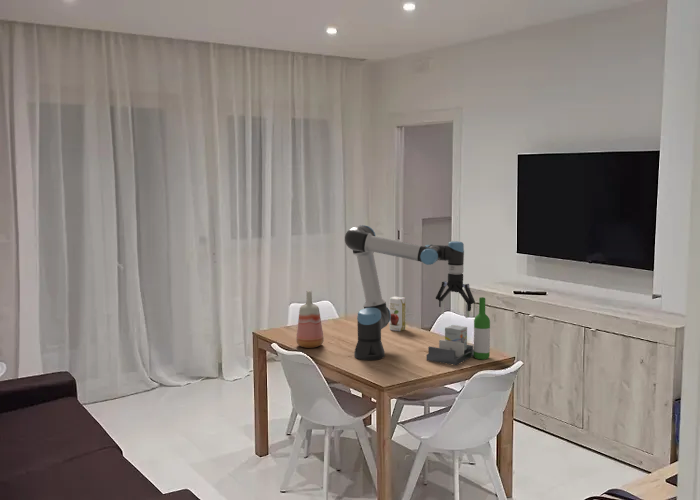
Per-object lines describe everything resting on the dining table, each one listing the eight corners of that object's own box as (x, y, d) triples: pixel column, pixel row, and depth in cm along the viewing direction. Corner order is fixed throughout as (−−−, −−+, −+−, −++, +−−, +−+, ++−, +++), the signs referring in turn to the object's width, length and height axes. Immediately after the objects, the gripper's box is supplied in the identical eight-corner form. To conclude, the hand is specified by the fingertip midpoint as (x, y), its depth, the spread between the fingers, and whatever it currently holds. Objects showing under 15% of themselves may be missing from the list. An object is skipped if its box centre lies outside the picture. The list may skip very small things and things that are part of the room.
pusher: (464, 357, 324) (464, 343, 323) (458, 360, 319) (459, 345, 318) (440, 353, 331) (440, 339, 330) (434, 355, 327) (434, 341, 326)
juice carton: (394, 327, 390) (394, 295, 388) (407, 329, 385) (407, 297, 383) (387, 330, 384) (387, 297, 382) (400, 332, 379) (400, 299, 377)
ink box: (460, 353, 325) (459, 329, 323) (444, 350, 330) (444, 327, 328) (467, 349, 332) (467, 326, 330) (452, 347, 337) (452, 324, 335)
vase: (290, 346, 351) (289, 291, 347) (310, 341, 361) (309, 287, 358) (309, 351, 341) (308, 294, 337) (329, 345, 351) (328, 290, 348)
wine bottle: (472, 355, 330) (473, 296, 326) (488, 355, 330) (489, 296, 326) (474, 360, 322) (475, 299, 318) (490, 360, 322) (491, 299, 318)
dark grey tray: (475, 355, 331) (475, 341, 330) (456, 365, 314) (456, 351, 313) (446, 350, 340) (446, 337, 339) (426, 360, 323) (426, 346, 322)
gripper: (429, 271, 329) (428, 313, 332) (475, 276, 315) (474, 320, 317) (436, 269, 335) (435, 311, 338) (482, 274, 321) (481, 317, 324)
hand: (454, 315), depth 328 cm, fingers open, 13 cm apart
